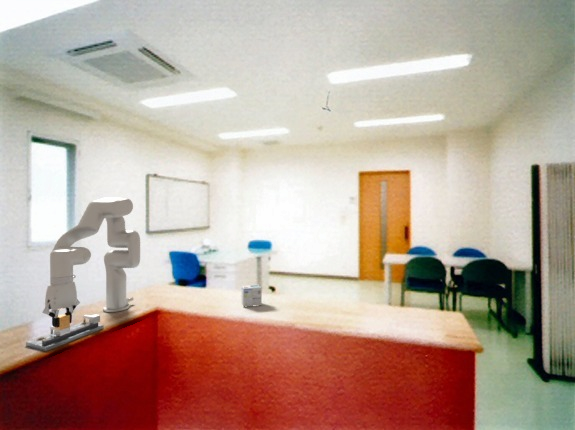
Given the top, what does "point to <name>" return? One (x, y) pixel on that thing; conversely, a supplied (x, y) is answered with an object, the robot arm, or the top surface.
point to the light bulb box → (251, 295)
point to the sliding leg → (62, 326)
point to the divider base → (63, 341)
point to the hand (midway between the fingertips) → (62, 324)
